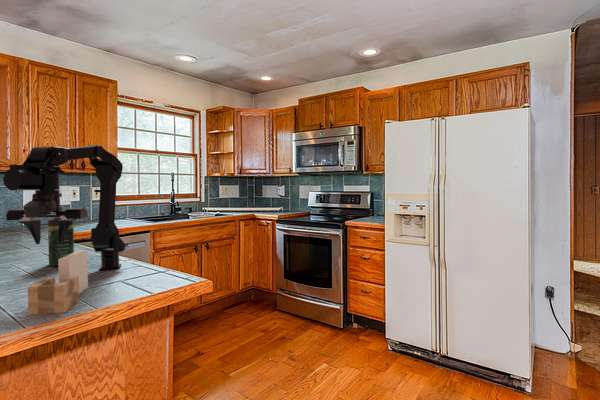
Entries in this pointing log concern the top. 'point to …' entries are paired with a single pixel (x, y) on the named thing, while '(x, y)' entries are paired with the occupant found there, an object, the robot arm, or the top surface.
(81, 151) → the robot arm
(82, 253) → the cover plate
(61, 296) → the oak box
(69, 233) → the coffee jar
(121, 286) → the top surface
